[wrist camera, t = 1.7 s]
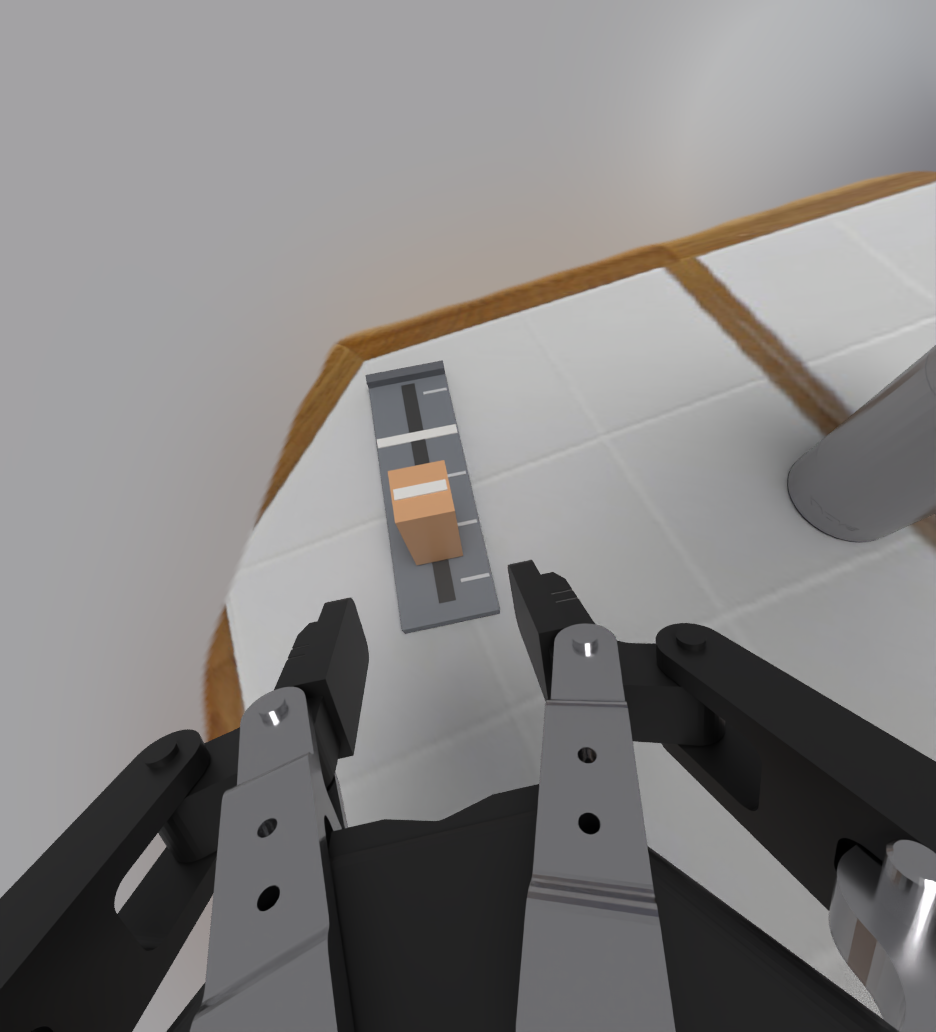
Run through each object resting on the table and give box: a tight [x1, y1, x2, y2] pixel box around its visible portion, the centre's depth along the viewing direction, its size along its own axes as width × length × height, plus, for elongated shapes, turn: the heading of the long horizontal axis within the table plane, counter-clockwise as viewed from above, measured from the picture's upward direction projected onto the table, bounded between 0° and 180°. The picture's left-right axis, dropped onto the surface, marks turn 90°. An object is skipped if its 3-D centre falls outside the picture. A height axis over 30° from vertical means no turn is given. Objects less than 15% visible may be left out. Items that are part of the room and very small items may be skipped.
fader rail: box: [366, 361, 500, 634], centre depth 41 cm, size 26×8×2 cm, turn 11°
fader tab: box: [388, 460, 463, 565], centre depth 34 cm, size 4×4×9 cm
